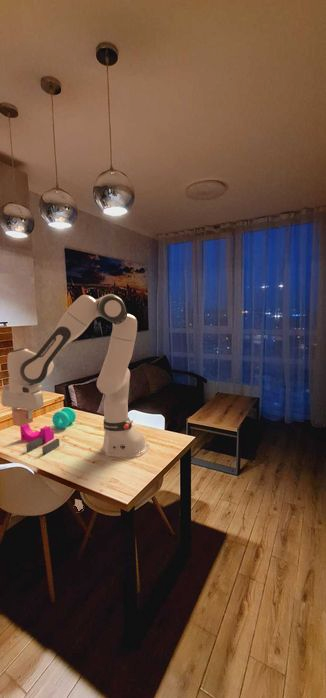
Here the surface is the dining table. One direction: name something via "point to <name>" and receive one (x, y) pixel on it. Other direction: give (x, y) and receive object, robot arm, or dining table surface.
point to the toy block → (36, 433)
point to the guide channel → (45, 448)
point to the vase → (78, 504)
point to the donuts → (64, 418)
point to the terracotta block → (21, 417)
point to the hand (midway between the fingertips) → (23, 417)
